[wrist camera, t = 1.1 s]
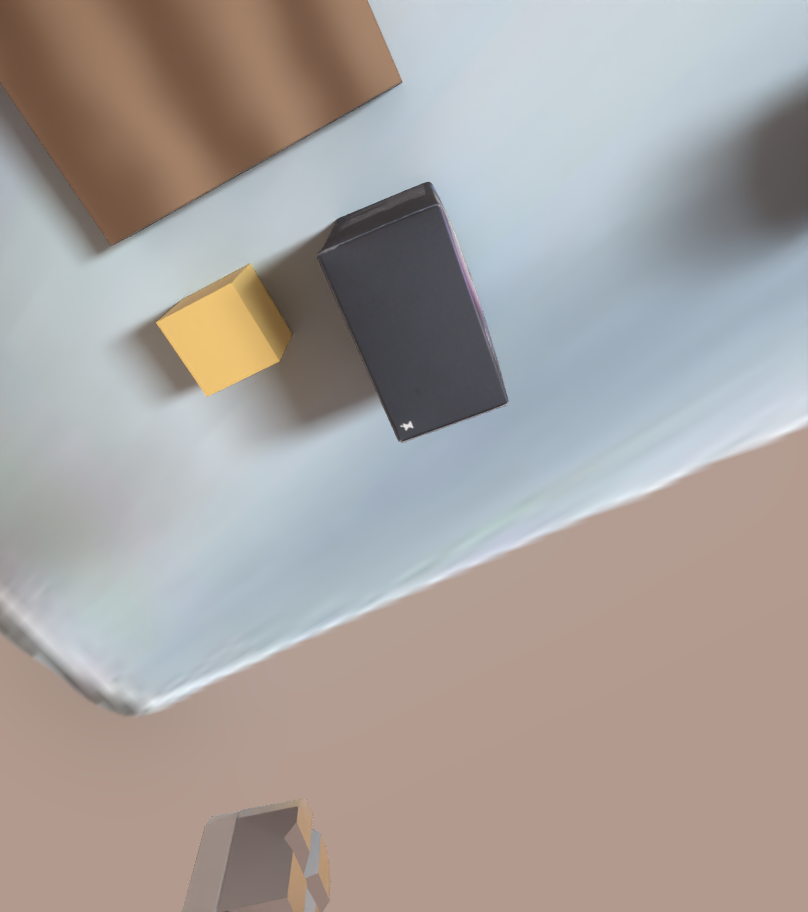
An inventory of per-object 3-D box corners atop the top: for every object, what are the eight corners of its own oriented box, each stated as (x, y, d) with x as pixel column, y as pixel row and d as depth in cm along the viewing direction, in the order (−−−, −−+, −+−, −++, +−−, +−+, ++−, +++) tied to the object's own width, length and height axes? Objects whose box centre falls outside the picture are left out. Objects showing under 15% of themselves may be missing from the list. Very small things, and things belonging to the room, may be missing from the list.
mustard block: (250, 263, 40) (231, 282, 36) (292, 334, 42) (279, 361, 38) (182, 298, 41) (155, 322, 37) (227, 366, 43) (206, 396, 39)
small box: (492, 341, 42) (516, 408, 33) (398, 376, 43) (396, 450, 34) (435, 175, 38) (445, 199, 28) (331, 219, 39) (308, 256, 29)
